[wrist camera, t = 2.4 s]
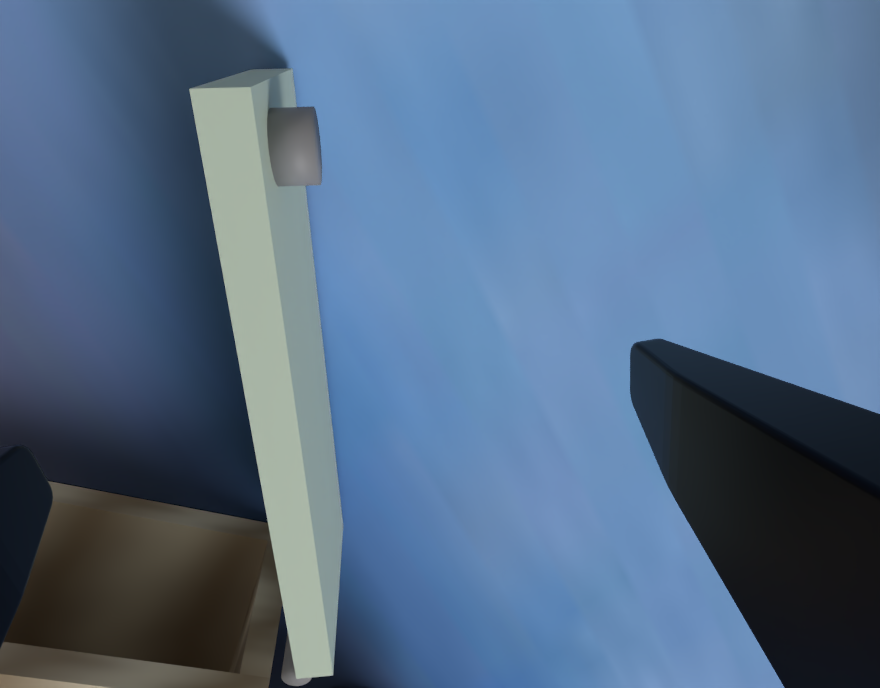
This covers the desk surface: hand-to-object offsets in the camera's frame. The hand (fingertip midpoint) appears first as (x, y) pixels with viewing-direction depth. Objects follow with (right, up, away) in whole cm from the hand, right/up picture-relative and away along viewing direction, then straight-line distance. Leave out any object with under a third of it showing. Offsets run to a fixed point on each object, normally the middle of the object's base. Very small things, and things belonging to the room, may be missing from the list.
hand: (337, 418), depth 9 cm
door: (-3, +1, +14) cm, 14 cm away
